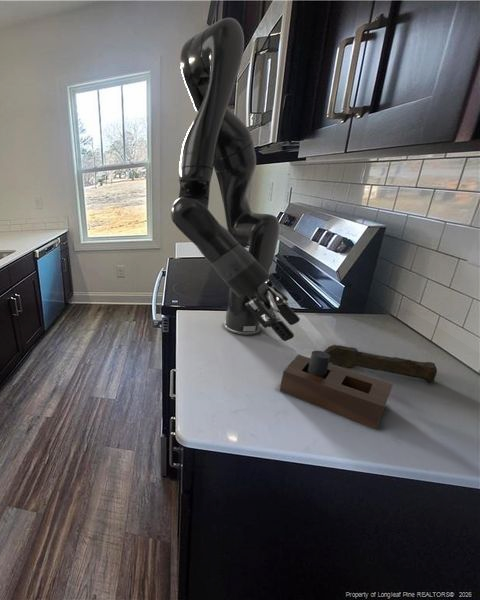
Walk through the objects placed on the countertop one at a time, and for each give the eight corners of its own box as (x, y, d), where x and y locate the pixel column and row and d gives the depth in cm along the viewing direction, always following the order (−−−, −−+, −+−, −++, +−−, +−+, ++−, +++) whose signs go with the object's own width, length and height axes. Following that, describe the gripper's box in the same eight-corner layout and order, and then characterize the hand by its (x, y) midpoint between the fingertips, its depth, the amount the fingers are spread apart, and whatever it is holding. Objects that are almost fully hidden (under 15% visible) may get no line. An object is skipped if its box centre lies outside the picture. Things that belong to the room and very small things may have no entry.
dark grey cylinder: (305, 385, 68) (314, 348, 65) (323, 391, 66) (332, 354, 63) (300, 391, 66) (309, 354, 63) (318, 398, 64) (328, 360, 61)
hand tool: (427, 375, 69) (434, 357, 67) (433, 385, 66) (441, 366, 64) (320, 355, 79) (324, 338, 77) (321, 363, 75) (325, 346, 74)
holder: (294, 373, 72) (298, 354, 71) (385, 405, 61) (393, 383, 59) (279, 390, 67) (283, 370, 65) (376, 429, 56) (384, 406, 54)
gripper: (245, 267, 60) (306, 336, 58) (262, 251, 70) (314, 309, 68) (214, 289, 65) (269, 353, 63) (233, 271, 76) (281, 325, 73)
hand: (292, 330), depth 65 cm, fingers open, 8 cm apart
